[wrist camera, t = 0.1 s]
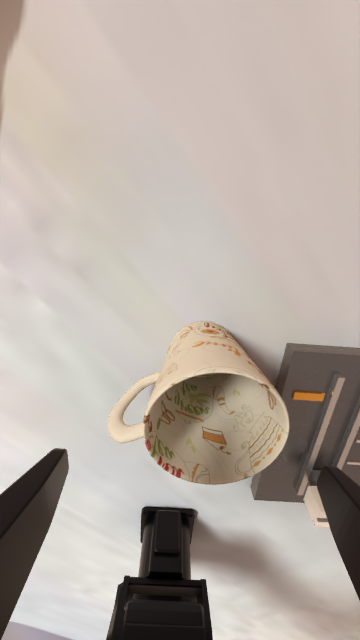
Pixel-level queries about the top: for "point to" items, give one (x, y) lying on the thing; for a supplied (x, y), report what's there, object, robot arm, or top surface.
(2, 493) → the robot arm
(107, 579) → the top surface
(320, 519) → the fader tab
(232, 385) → the mug
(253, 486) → the console board
